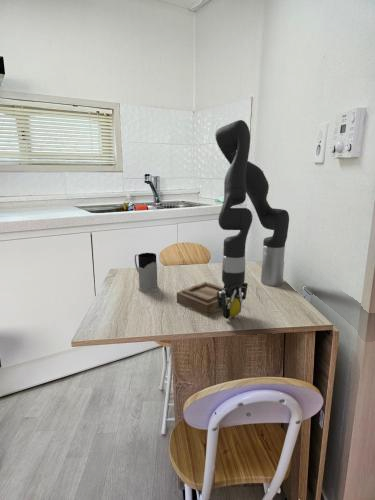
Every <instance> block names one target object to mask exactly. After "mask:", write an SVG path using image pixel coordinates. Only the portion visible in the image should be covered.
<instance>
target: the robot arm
mask: <svg viewBox="0 0 375 500" xmlns="http://www.w3.org/2000/svg"><path fill="white" fill-rule="evenodd" d="M214 134H215V135H214V136H215V141H216V145H217V147H218V148H219V150H220V152H221V153H222V155H223V156H224V158H225V159H226V160H227V162H228V163H229V165H230V166H229V167H228V170H227V172H226V174H225V176H224V177H225V178H224V183H223V185H224V191H223V192H224V193H223V194H224V195H223V196H224V197H223V202H222V206H221V208H220V209H221V210H220V212H219V216H218V219H217V220H218V225H219V227H220V229H222V230H224V231H239V232H238V233H237V234H235V235H232V236H227V237H225V238H224V240H223V251H222V252H223V253H222V255H223V257H222V261H221V262H222V265H221V274H222V275H221V281H222V283H223V287H222V288H223V290H222V291H218V292H217V298H218V306H219V307H221V308H223V309H222V317H223V318H224V319H227V320H228V319H230V318H231V317H230V305H231V303H232V302H233V299H234V297H236V298H237V299H238V300H239V302H240V307H241V308H240V312H239V314H240V313H241V310H242V303H243V301H245V300H246V298H247V297H246V296H247V291H248V286H249V283H247V282H245V278H246V244H247V240H248V239H247V238H248V235H249V231H250V229H251V226H252V222H253V213H252V211H251V209H249V208H246V207H234V206H238V205H241V204H243V203H245V202H246V200H247V199H246V198H247V196H248V198H249V199H250V202H251V204H252V207H253V208H254V210H255V213H256V214H257V218H258V220H259V222H260V224H261V226H262V227H263V228H264V229H267V230H271V231H273V233H272V236H268V237H265V238H264V239H263V243H262V245H263V246H262V257H261V259H262V261H261V275H260V276H261V278H260V282H261V284H263V285H265V286H269V287H270V286H271V287H274V286H276V287H278V286H280V285H282V284H283V281H284V268H285V251H286V249H285V248H286V243H287V238H288V233H289V232H288V231H289V223H290V215H289V212H288V211H287V210H286V209H282V208H273V207H271V205H270V204H269V201H268V199H267V198H268V194H269V190H270V184H269V181H268V179H267V178H266V175H265V174H264V171H263V170H262V169H261V168H260V167H259V166H258V165H256V164H254V163H253V162H252V161H249V154H250V146H251V132H250V128H249V126H248V124H247V123H246V121H245V120H243V119H239V120H236V121H233V122H231V123H228V124H225V125H223V126H221V127H220V128H218V129H216V131H215V133H214ZM226 297H228V298H230V299H227V298H226ZM226 301H228V303H227V305H226Z"/></svg>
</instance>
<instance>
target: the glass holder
mask: <svg viewBox="0 0 375 500" xmlns="http://www.w3.org/2000/svg"><path fill="white" fill-rule="evenodd" d="M137 257H138V260H137ZM137 261H138V264H137ZM134 265H135V269H136V270H137V273H138V291H139V292H142V293H154V292H156V291H158V290H159V285H158V263H157V253H153V252H143V253H140V254H138V253H136V254H135V255H134Z"/></svg>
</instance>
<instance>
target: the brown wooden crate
mask: <svg viewBox="0 0 375 500" xmlns="http://www.w3.org/2000/svg"><path fill="white" fill-rule="evenodd" d="M223 288H224V287H222V286H218V285H217V284H213V283H210V282H207V281H203V282H201V283H198V284H196V285H193V286H191V287H187V288H185V289H181V291H178V292H176V303H178V304H179V305H182V306H185V307H187V308H189V309H191V310H193V311H196V312H197V313H200V314H203V315H205V316H210V315H212V314H214V313H216V312H218V311H220V310H223V308H221V307H219V306H218V298H217V292H218V291H222V290H223ZM226 298H228V297H226Z"/></svg>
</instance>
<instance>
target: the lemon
mask: <svg viewBox="0 0 375 500" xmlns="http://www.w3.org/2000/svg"><path fill="white" fill-rule="evenodd" d="M227 299H230V298H227ZM227 303H228V301H226V305H227ZM240 308H241V309H242V306H241V307H240V302H239V300H238V299H237V298H236V297H234V299H233V302H232V303H231V305H230V318H231V319H233V318H235V317H237V316H238V315H239V314H240V313H241V312H240ZM239 312H240V313H239Z"/></svg>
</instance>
